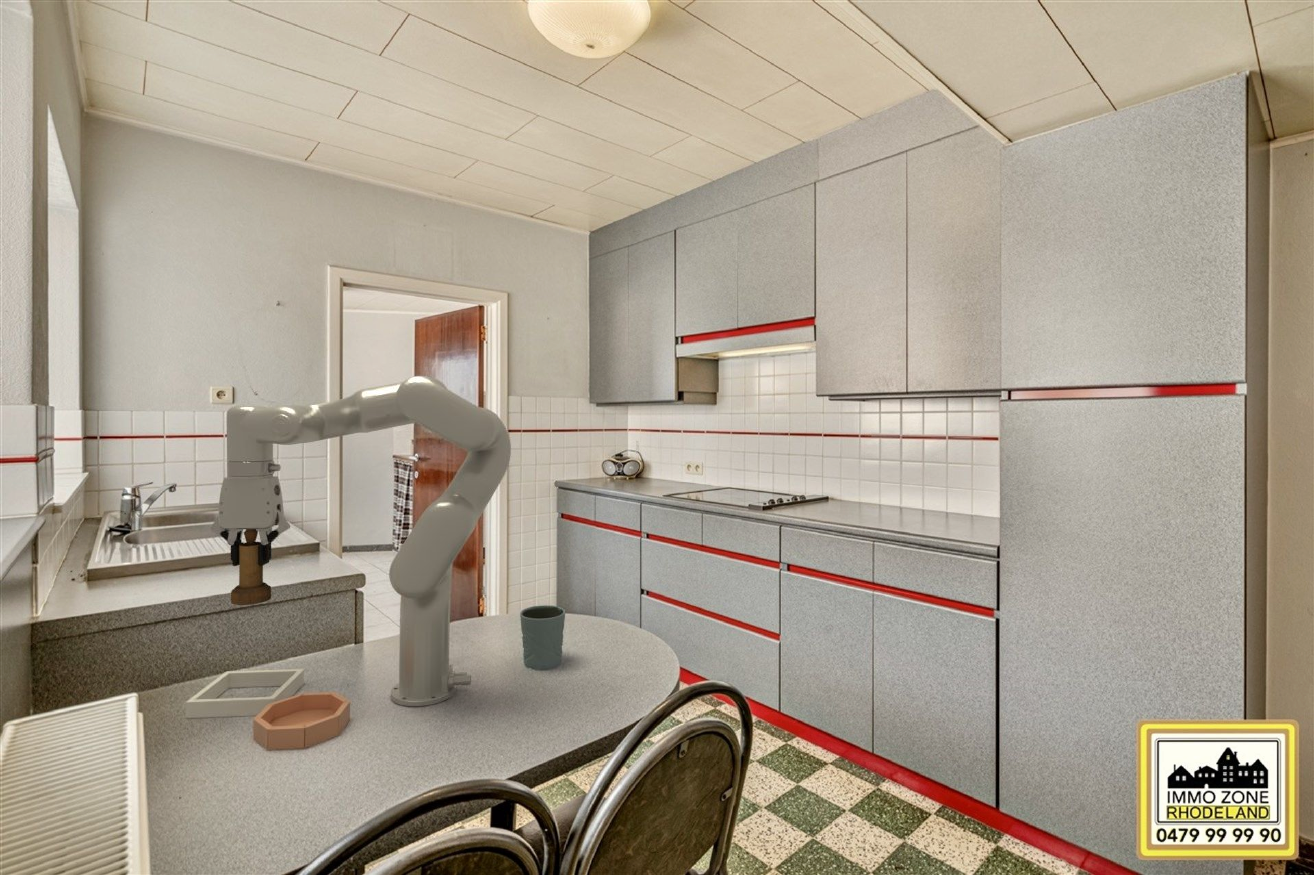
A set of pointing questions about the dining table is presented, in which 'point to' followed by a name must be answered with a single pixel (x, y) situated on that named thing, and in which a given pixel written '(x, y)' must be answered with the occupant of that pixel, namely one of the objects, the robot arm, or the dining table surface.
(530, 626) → the drinking glass
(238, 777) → the dining table surface
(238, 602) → the dark brown knobbed post
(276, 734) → the terracotta bowl
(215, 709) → the open rectangular frame
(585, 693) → the dining table surface
